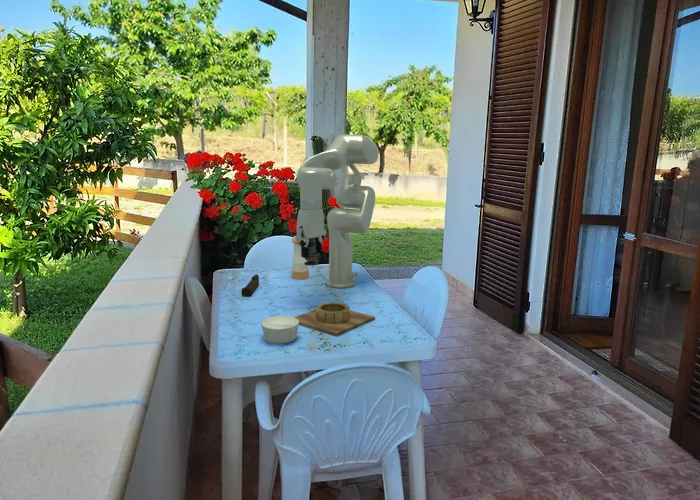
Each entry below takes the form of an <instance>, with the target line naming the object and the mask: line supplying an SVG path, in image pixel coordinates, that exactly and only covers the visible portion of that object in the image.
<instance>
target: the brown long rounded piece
mask: <svg viewBox="0 0 700 500" xmlns="http://www.w3.org/2000/svg"><path fill="white" fill-rule="evenodd" d="M259 284H260V276H259V274H254V275H253V276H251V280H250V281H249V282H248V283H247V284H246V286H245V287H243V288H242V289H241V291H240V294H241V296H242V297H243V298H250V297H252V295H253V293H254V291H255V290H256V288H258V287H259Z"/></svg>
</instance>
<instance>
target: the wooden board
mask: <svg viewBox="0 0 700 500" xmlns="http://www.w3.org/2000/svg"><path fill="white" fill-rule="evenodd" d="M293 317H294V318H296V319H298V321H299V326H302V327H306V328H309V329H312V330H313V331H318V332H321V333H323V334H324V333H325V334H328V335H331V336H334V337H339V336H341V335H344V334H347V333H348V332H350V331H352V330H354V329H355V330H356V329H357V328H359V327H362V326H364V325H366V324H368V323H370V322H373V321H376V316H373V315H370V314H366V313H362V312H359V311H356V310H351V309H350V318H349V320H348V321H346V322H343V323H337V324H330V323H323V322H320V321H318V320H317V319H316V309H313V310H310V311H307V312H305V313H302V314H298V315H297V316H293Z"/></svg>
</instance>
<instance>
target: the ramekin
mask: <svg viewBox="0 0 700 500" xmlns="http://www.w3.org/2000/svg"><path fill="white" fill-rule="evenodd" d="M294 317H295V316H288V315H287V316H286V315H275V316H274V315H273V316H270V317H267V318H264V319H263V320H261V325H260V326H261V328H262V329H261V330H262V332H263V338H264V340H265V341H267V343H268V342H269V343H270V344H276V345H281V344H283V345H285V344H288V343H291V342H294V341H295V340H296V339H297V337H298V331H299V330H298V329H299V326H300V325H299V321H298V319H296V318H294Z"/></svg>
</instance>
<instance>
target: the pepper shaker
mask: <svg viewBox="0 0 700 500" xmlns="http://www.w3.org/2000/svg"><path fill="white" fill-rule="evenodd" d="M295 237H296V235H294V236H293V237H292V239H291V243H293V257H292V269H291V278H292V279H293V280H299V281H300V280H307V279H309V278H310V271H309V265H305V264H304V263H305V262H307V260H306V259H305V258H303V257H301V246H300V244H299V243H298V242H297V241H296V239H295ZM305 241H306V240H304V242H305Z"/></svg>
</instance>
